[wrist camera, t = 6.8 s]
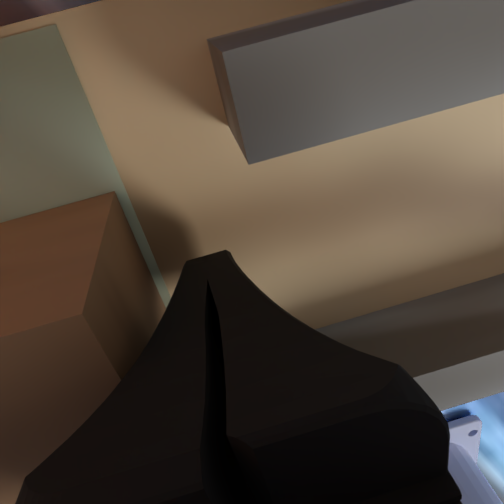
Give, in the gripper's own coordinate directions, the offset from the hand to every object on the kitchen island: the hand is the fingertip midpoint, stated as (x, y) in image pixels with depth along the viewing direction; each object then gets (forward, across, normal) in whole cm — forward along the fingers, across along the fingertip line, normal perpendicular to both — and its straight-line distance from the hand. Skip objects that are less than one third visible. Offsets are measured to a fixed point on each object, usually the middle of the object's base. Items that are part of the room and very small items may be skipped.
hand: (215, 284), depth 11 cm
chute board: (+3, -4, 0) cm, 4 cm away
